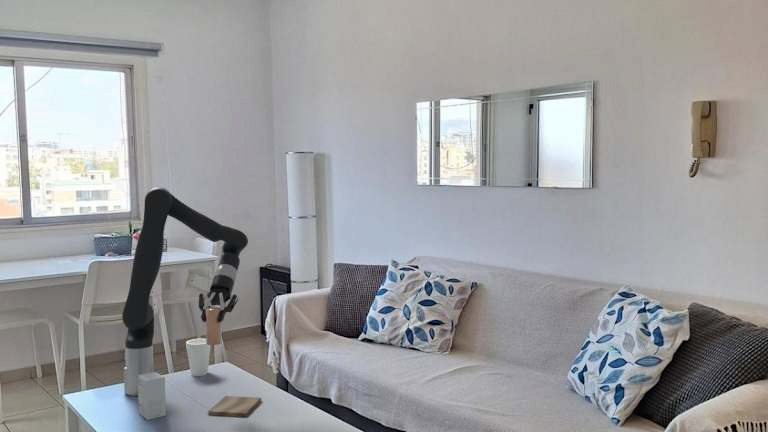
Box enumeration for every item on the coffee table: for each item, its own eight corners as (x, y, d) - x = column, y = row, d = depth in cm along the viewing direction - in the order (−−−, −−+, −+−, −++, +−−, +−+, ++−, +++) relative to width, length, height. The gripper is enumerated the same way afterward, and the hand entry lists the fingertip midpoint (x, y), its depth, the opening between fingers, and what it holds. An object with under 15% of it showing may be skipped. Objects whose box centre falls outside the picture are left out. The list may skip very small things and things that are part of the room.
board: (208, 414, 221) (208, 411, 221) (225, 399, 236) (225, 395, 236) (246, 416, 219) (246, 413, 219) (261, 401, 234) (261, 397, 234)
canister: (203, 344, 227) (203, 309, 226) (209, 340, 232) (209, 306, 231) (218, 345, 227) (217, 310, 226) (223, 341, 232) (223, 307, 231)
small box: (166, 415, 220) (165, 377, 219) (147, 420, 216) (146, 381, 215) (157, 409, 227) (156, 371, 226) (138, 413, 223) (137, 375, 222)
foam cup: (207, 377, 260) (206, 344, 260) (183, 377, 261) (183, 344, 260) (214, 370, 270) (213, 338, 269) (191, 369, 270) (190, 338, 269)
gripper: (201, 273, 236) (187, 314, 225) (240, 274, 234) (228, 315, 223) (208, 285, 242) (194, 326, 231) (246, 286, 240) (234, 327, 229)
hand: (211, 320), depth 227 cm, fingers closed on canister, 5 cm apart
